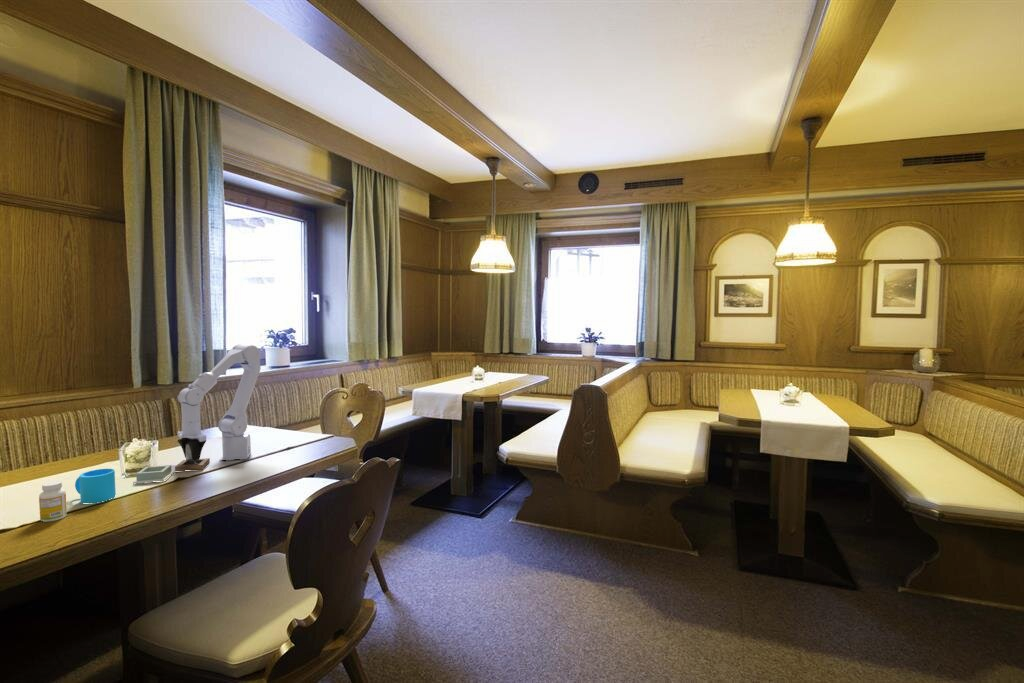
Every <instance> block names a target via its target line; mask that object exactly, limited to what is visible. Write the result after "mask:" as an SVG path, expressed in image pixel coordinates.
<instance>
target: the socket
mask: <svg viewBox="0 0 1024 683" xmlns="http://www.w3.org/2000/svg"><path fill="white" fill-rule="evenodd" d="M210 461H211V460H210V458H209V457H207V458H205V457H204V458H200V459H199V464H192V465H186V459H183V460H181V461H180V462H178V463H177V465H175V466H174V471H185V470H201V471H204V470H205V469H206V468H207V467H208V466H209V465H210V464H211V462H210ZM209 463H210V464H209ZM208 464H209V465H208ZM207 465H208V466H207ZM206 466H207V467H206ZM205 467H206V468H205ZM204 468H205V469H204ZM203 469H204V470H203Z"/></svg>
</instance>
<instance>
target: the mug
mask: <svg viewBox="0 0 1024 683" xmlns="http://www.w3.org/2000/svg"><path fill="white" fill-rule="evenodd" d="M115 470H116V469H115V468H114V469H113V468H100V469H99V468H98V469H93V470H88V471H85V472H82V473H80V474H79V476H78V477H77V478H76V480H75V483H74V487H75V490H76V492H77V493H78V494H79V495H80V504H82V503H97V502H102V501H106V500H109V499H111V498H114V497H115V495H116V496H117V494H116V472H115ZM115 498H116V497H115ZM115 498H114V499H115ZM109 501H110V500H109ZM106 502H107V501H106ZM102 503H103V502H102ZM97 504H98V503H97Z"/></svg>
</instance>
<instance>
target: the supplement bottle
mask: <svg viewBox="0 0 1024 683" xmlns="http://www.w3.org/2000/svg"><path fill="white" fill-rule="evenodd" d="M62 487H63V481H60V480H55V481H49V482H46V483H43V484H42V485H41V489H42V492H41V493H39V495H38V503H39V519H40V521H41V522H42V521H43V523H49V522H55V521H58V520H61V519H64V518H65V517H67V515H68V513H67V511H68V510H67V509H68V508H67V492H66V489H64V488H62Z"/></svg>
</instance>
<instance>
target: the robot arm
mask: <svg viewBox="0 0 1024 683" xmlns="http://www.w3.org/2000/svg"><path fill="white" fill-rule="evenodd" d="M261 357H262V353H261V351H260V349H259V348H258V347H257V346H256V345H254V344H253V345H252V344H250V345H246V344H245V345H244V344H236V345H234V346H233V347H232V348H231V349H229V350H228V351H227V353H226V354H225V356H224V357H223V358H222V359H221V360H220V361H219V362H218V363H217V364H216V365H215V366H214V367H213V368H212V369H211V370H210V371H209V372H206V371H205V372H203V373H199V374H198V377H197V378H196V379H195V380H194V381H193V382H192V383H189V384H188V386H187V387H185V388H183V389H182V390H180V392H179V394H178V395H177V397H176V399H177V400H178V402H179V403H180V406H181V408H180V409H181V431H179V430H178V431H177V437H178V438H180V439H177V442H178V444H179V446H180V447H181V449H182V452H183V455H184V458H185V459H186V446H185V444H186V443H188V445H189V447H190V449H191V455H192V459H193V460H197V459H201V455H202V451H203V448H204V446H205V444H206V442H207V435H206V434H204V433H203V432H202V429H201V428H202V426H201V425H202V424H201V422H202V420H201V403H202V402H203V400H204V397H205V395H206V394H207V393H208V392H209V391H210V390H211V389H212V388H213V387H214V386H215V385H217V383H218V378H219V377H220V376H221V375H223V374H224V373H225V372H226V371H228V370H229V369H230V368H231V367H232V366H233V365H235V364H239V365H240V366H241V368H242V370H243V373H242V376H241V378H240V381H239V384H238V386H237V388H236V392H235V395H234V398H233V399H232V400H233V401H232V403H231V405H230V408H229V409H228V410H226V412H224V415H223V416H222V418H220V420H219V421H218V424H217V428H218V430H219V431H220V432H221V440H222V442H221V443H222V444H221V445H222V456H221V457H220V459H219V460H220V461H219V462H223V461H222V460H226V461H235V460H234V459H240V460H247V459H249V457H250V456H251V454H252V450H251V444H252V442H251V434H247V433H246V434H245V432H246V431H247V428H248V418H249V417H248V415H247V413H246V411H247V409H248V405H249V403H250V400H251V396H252V395H253V392H254V389H255V386H256V383H257V381H258V377H259V375H260V372H261V369H262V368H261ZM249 455H250V456H249Z"/></svg>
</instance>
